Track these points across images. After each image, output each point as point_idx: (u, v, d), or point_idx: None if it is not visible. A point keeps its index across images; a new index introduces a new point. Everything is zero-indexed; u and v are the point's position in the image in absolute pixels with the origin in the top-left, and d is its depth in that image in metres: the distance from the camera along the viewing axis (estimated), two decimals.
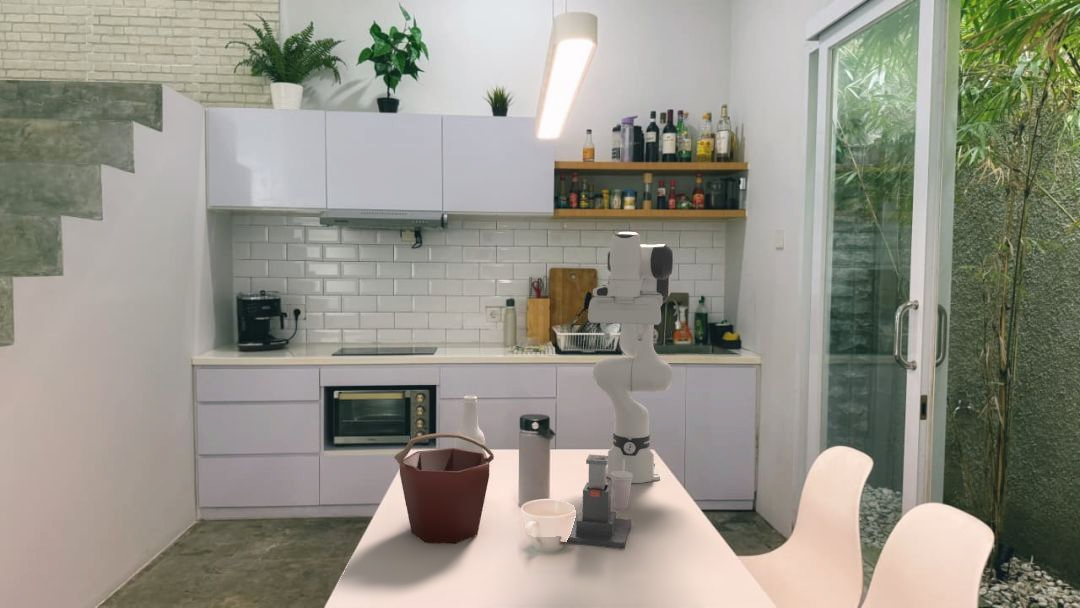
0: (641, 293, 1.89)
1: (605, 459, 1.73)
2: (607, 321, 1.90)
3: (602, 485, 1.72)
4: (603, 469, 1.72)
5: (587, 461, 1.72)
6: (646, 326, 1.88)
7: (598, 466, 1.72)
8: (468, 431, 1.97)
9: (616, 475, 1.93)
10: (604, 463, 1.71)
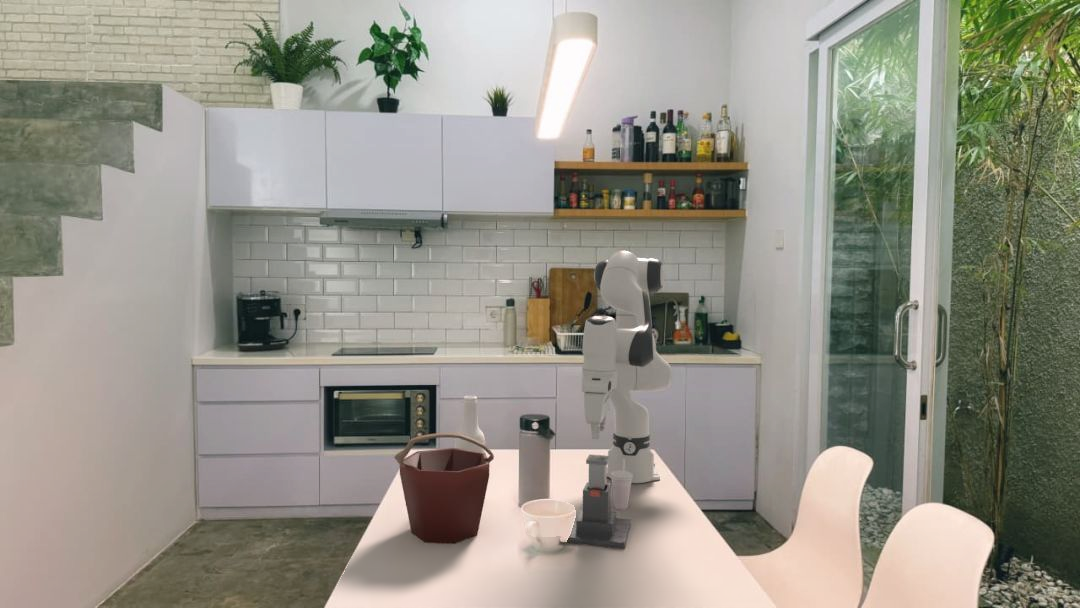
0: None
1: (605, 459, 1.73)
2: (603, 418, 1.69)
3: (602, 485, 1.72)
4: (603, 469, 1.72)
5: (587, 461, 1.72)
6: None
7: (598, 466, 1.72)
8: (468, 431, 1.97)
9: (616, 475, 1.93)
10: (604, 463, 1.71)
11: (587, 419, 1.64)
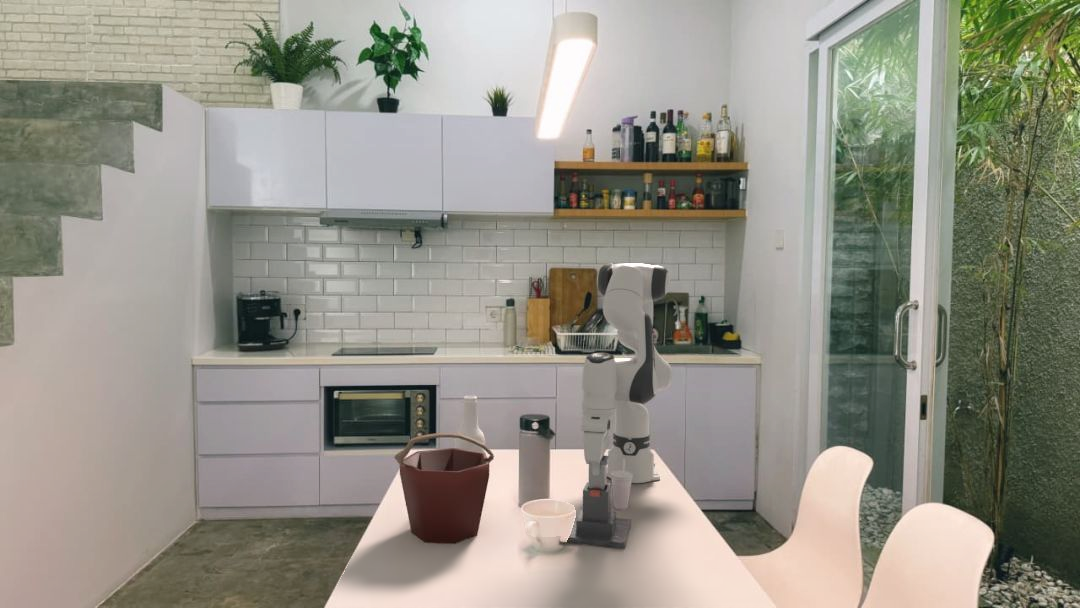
0: None
1: (605, 459, 1.73)
2: (602, 456, 1.69)
3: (602, 485, 1.72)
4: (603, 469, 1.72)
5: None
6: None
7: None
8: (468, 431, 1.97)
9: (616, 475, 1.93)
10: (604, 463, 1.71)
11: (586, 458, 1.65)
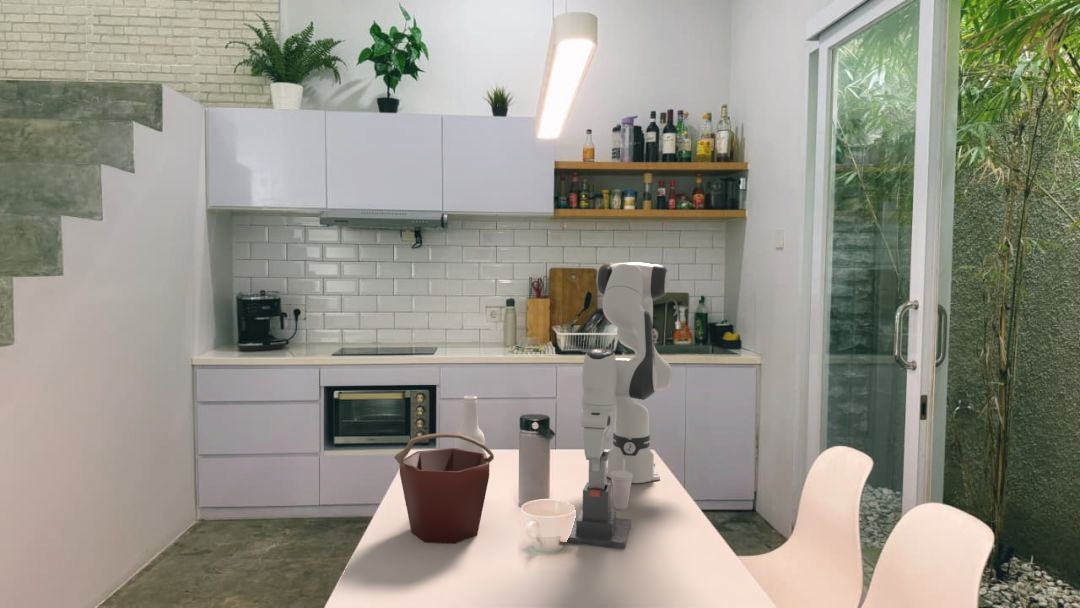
0: None
1: (605, 455, 1.73)
2: (602, 452, 1.69)
3: (602, 481, 1.72)
4: (603, 465, 1.72)
5: None
6: None
7: None
8: (468, 431, 1.97)
9: (616, 475, 1.93)
10: (604, 459, 1.71)
11: (586, 454, 1.65)
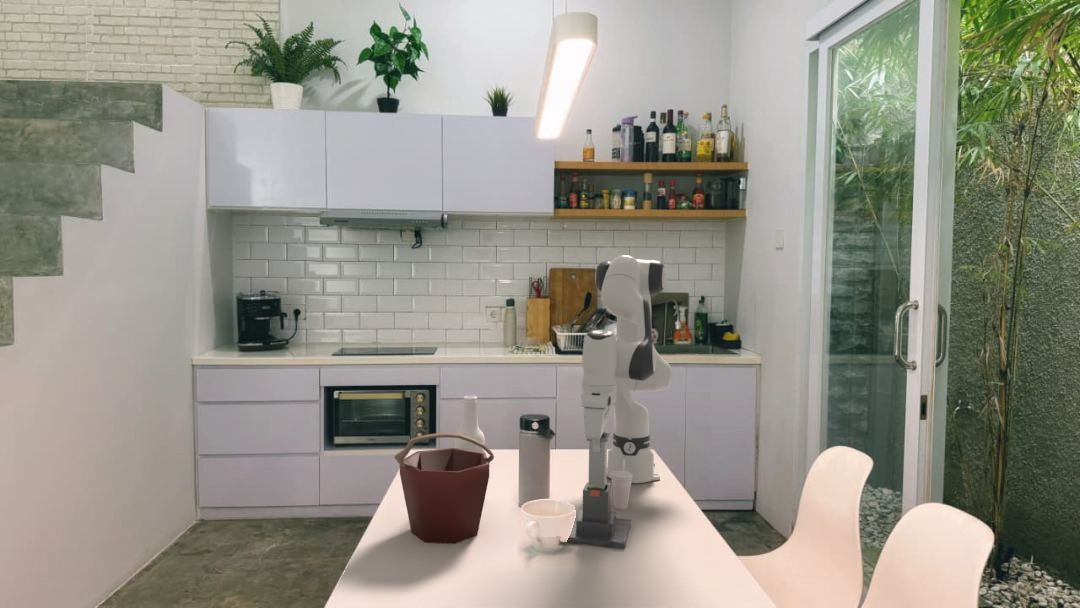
0: None
1: (606, 436, 1.73)
2: None
3: (602, 462, 1.72)
4: (603, 446, 1.72)
5: None
6: None
7: None
8: (468, 431, 1.97)
9: (616, 475, 1.93)
10: (605, 439, 1.71)
11: (587, 434, 1.64)
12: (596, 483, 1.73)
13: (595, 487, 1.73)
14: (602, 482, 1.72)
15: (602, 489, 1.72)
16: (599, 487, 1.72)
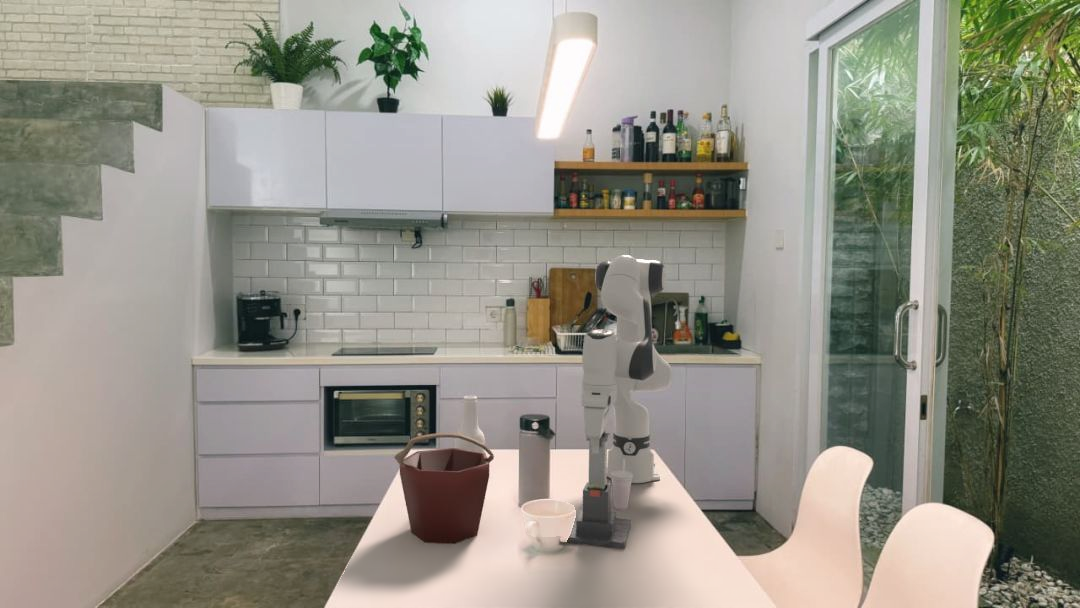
0: None
1: (606, 435, 1.73)
2: (603, 432, 1.69)
3: (602, 462, 1.72)
4: (603, 446, 1.72)
5: (587, 438, 1.72)
6: None
7: (599, 443, 1.72)
8: (468, 431, 1.97)
9: (616, 475, 1.93)
10: (605, 439, 1.71)
11: (587, 434, 1.64)
12: (596, 483, 1.73)
13: (595, 487, 1.73)
14: (602, 482, 1.72)
15: (602, 489, 1.72)
16: (599, 487, 1.72)
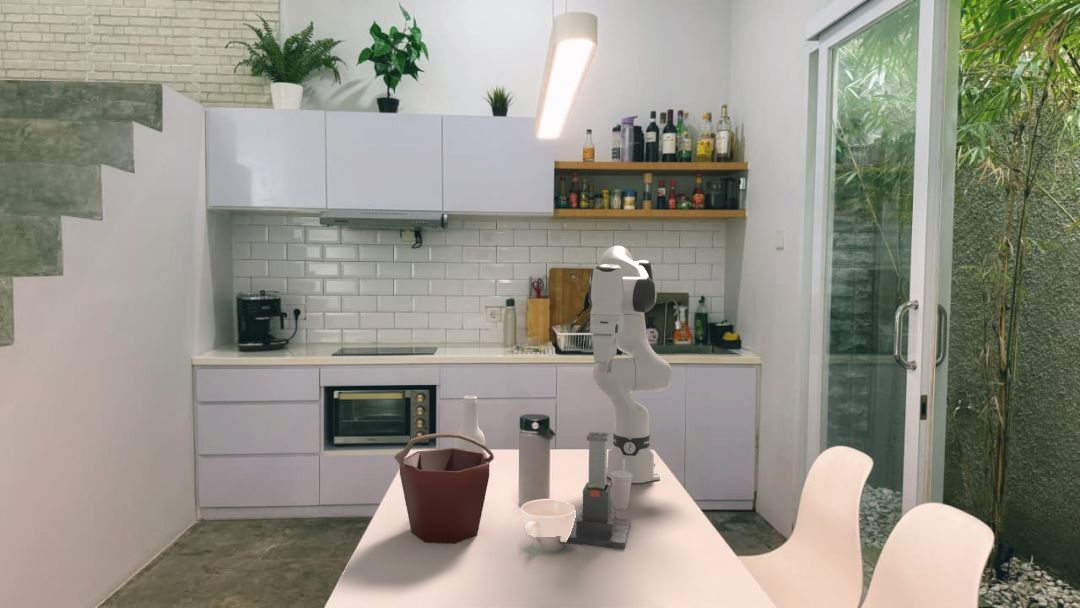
0: None
1: (606, 435, 1.73)
2: (610, 359, 1.80)
3: (602, 462, 1.72)
4: (603, 446, 1.72)
5: (587, 438, 1.72)
6: (612, 358, 1.90)
7: (599, 443, 1.72)
8: (468, 431, 1.97)
9: (616, 475, 1.93)
10: (605, 439, 1.71)
11: (595, 359, 1.75)
12: (596, 483, 1.73)
13: (595, 487, 1.73)
14: (602, 482, 1.72)
15: (602, 489, 1.72)
16: (599, 487, 1.72)
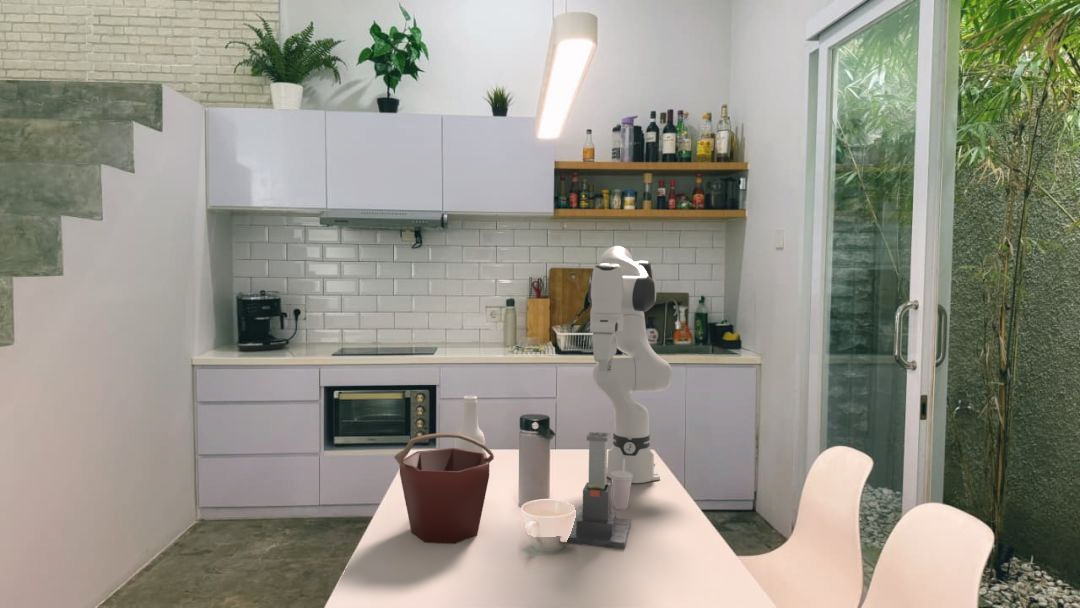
0: None
1: (606, 435, 1.73)
2: (610, 358, 1.80)
3: (602, 462, 1.72)
4: (603, 446, 1.72)
5: (587, 438, 1.72)
6: (612, 357, 1.91)
7: (599, 443, 1.72)
8: (468, 431, 1.97)
9: (616, 475, 1.93)
10: (605, 439, 1.71)
11: (595, 357, 1.75)
12: (596, 483, 1.73)
13: (595, 487, 1.73)
14: (602, 482, 1.72)
15: (602, 489, 1.72)
16: (599, 487, 1.72)
